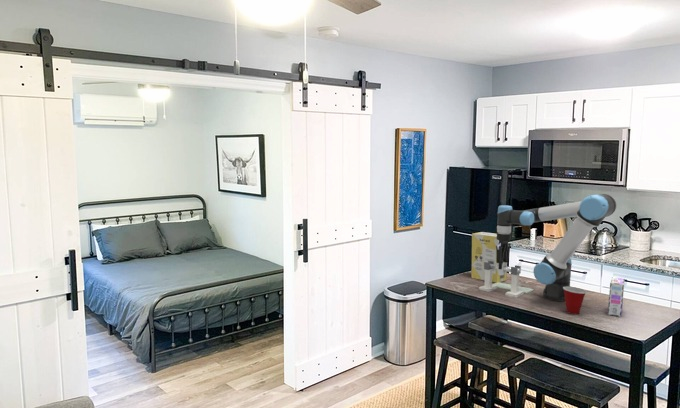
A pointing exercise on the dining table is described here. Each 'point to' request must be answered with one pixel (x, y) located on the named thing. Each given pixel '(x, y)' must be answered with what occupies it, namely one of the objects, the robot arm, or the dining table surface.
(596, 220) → the robot arm
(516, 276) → the rack
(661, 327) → the dining table surface
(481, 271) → the pasta box
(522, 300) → the dining table surface
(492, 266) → the rail
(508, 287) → the mat
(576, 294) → the plastic cup
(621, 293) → the candy box
